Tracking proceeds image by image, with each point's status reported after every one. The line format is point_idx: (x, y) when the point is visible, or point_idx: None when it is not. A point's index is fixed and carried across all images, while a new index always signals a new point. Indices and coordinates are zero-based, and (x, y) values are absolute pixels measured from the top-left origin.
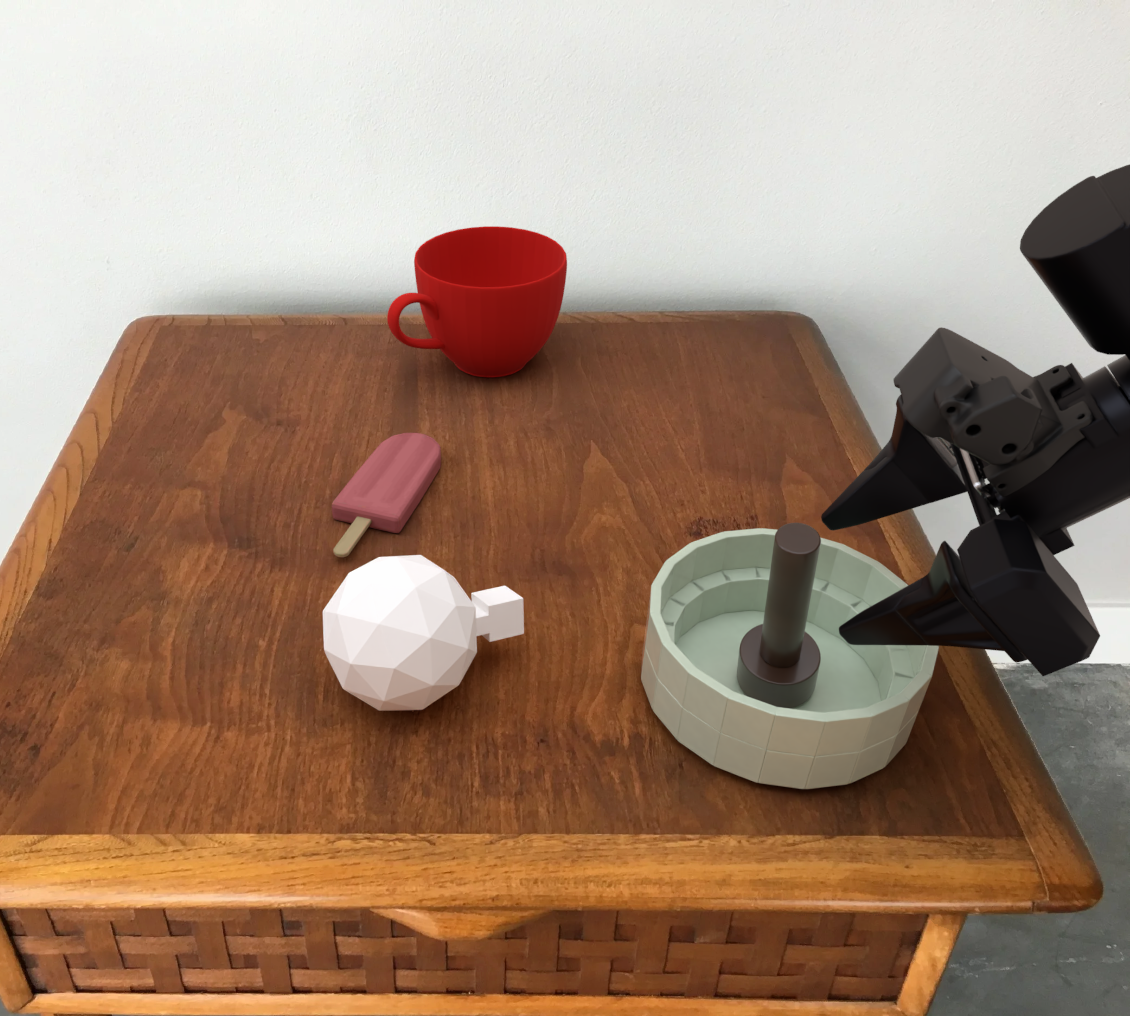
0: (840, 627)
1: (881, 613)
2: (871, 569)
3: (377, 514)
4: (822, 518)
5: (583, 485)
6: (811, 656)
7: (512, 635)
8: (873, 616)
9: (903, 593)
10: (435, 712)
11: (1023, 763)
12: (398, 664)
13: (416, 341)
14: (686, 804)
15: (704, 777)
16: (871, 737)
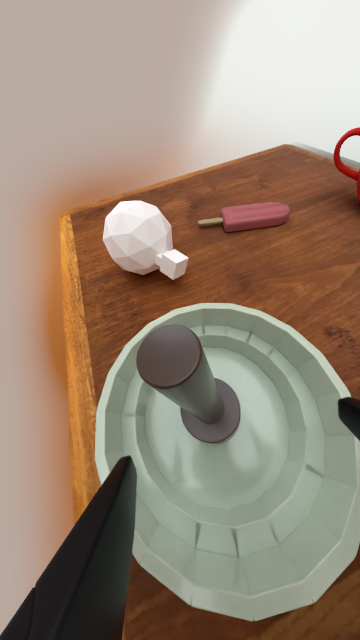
0: (126, 457)
1: (67, 540)
2: (352, 486)
3: (224, 219)
4: (340, 399)
5: (318, 271)
6: (213, 433)
7: (168, 276)
8: (83, 518)
9: (38, 630)
10: (137, 278)
11: None
12: (103, 239)
13: (343, 166)
14: None
15: None
16: None
